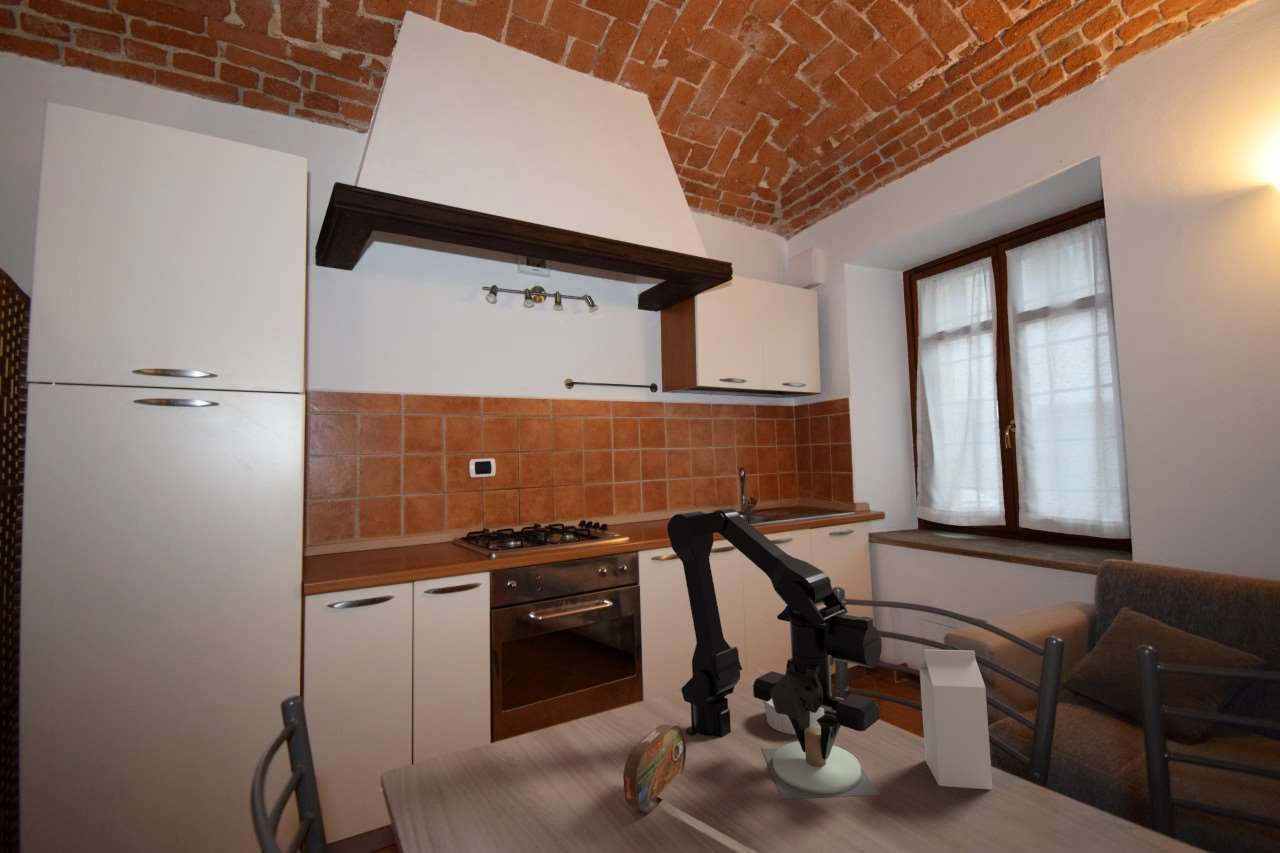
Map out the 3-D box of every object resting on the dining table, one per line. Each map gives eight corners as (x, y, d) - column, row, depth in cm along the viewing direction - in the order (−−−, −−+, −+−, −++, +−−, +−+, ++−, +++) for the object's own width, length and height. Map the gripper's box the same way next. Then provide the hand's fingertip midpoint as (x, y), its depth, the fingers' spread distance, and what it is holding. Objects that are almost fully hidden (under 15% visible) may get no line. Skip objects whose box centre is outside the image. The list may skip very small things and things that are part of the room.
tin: (639, 825, 78) (637, 761, 79) (620, 818, 80) (618, 756, 80) (688, 771, 91) (686, 717, 92) (671, 767, 93) (669, 713, 93)
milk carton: (993, 794, 82) (983, 659, 83) (939, 791, 83) (930, 657, 85) (974, 768, 89) (966, 643, 90) (925, 765, 90) (917, 642, 92)
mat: (782, 804, 82) (782, 798, 82) (761, 753, 96) (761, 748, 96) (880, 800, 82) (880, 794, 82) (845, 750, 96) (845, 745, 96)
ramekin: (804, 748, 97) (802, 716, 97) (751, 727, 105) (749, 697, 106) (838, 726, 104) (837, 697, 105) (786, 708, 113) (785, 680, 113)
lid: (756, 771, 89) (754, 733, 89) (800, 740, 98) (799, 706, 98) (835, 805, 80) (833, 763, 80) (876, 768, 89) (873, 730, 89)
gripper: (730, 652, 91) (735, 754, 90) (842, 682, 77) (848, 802, 77) (770, 635, 99) (774, 729, 98) (877, 660, 85) (884, 768, 84)
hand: (815, 755), depth 89 cm, fingers closed on lid, 3 cm apart
